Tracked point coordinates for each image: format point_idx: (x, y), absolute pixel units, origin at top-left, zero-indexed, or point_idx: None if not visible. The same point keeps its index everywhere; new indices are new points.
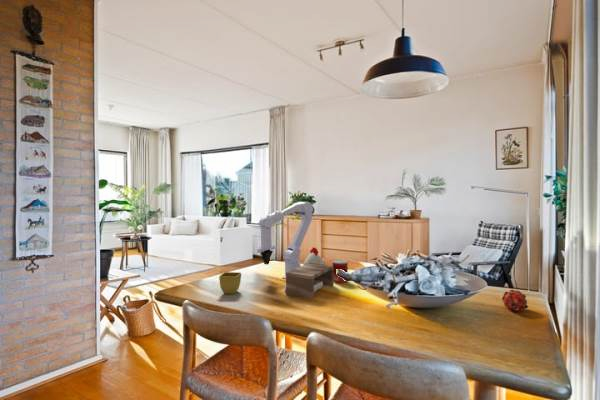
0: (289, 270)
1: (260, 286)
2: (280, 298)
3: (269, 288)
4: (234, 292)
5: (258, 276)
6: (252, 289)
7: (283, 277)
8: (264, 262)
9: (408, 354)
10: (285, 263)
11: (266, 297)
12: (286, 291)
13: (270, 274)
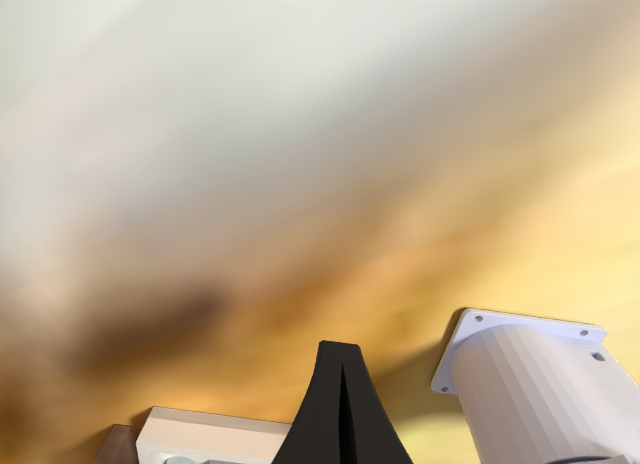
0: (469, 421)
1: (172, 248)
2: (48, 418)
3: (164, 321)
4: None
5: (521, 52)
6: (68, 227)
7: (460, 324)
8: (315, 366)
9: None
10: (527, 457)
11: (7, 365)
12: (104, 444)
13: (626, 153)
